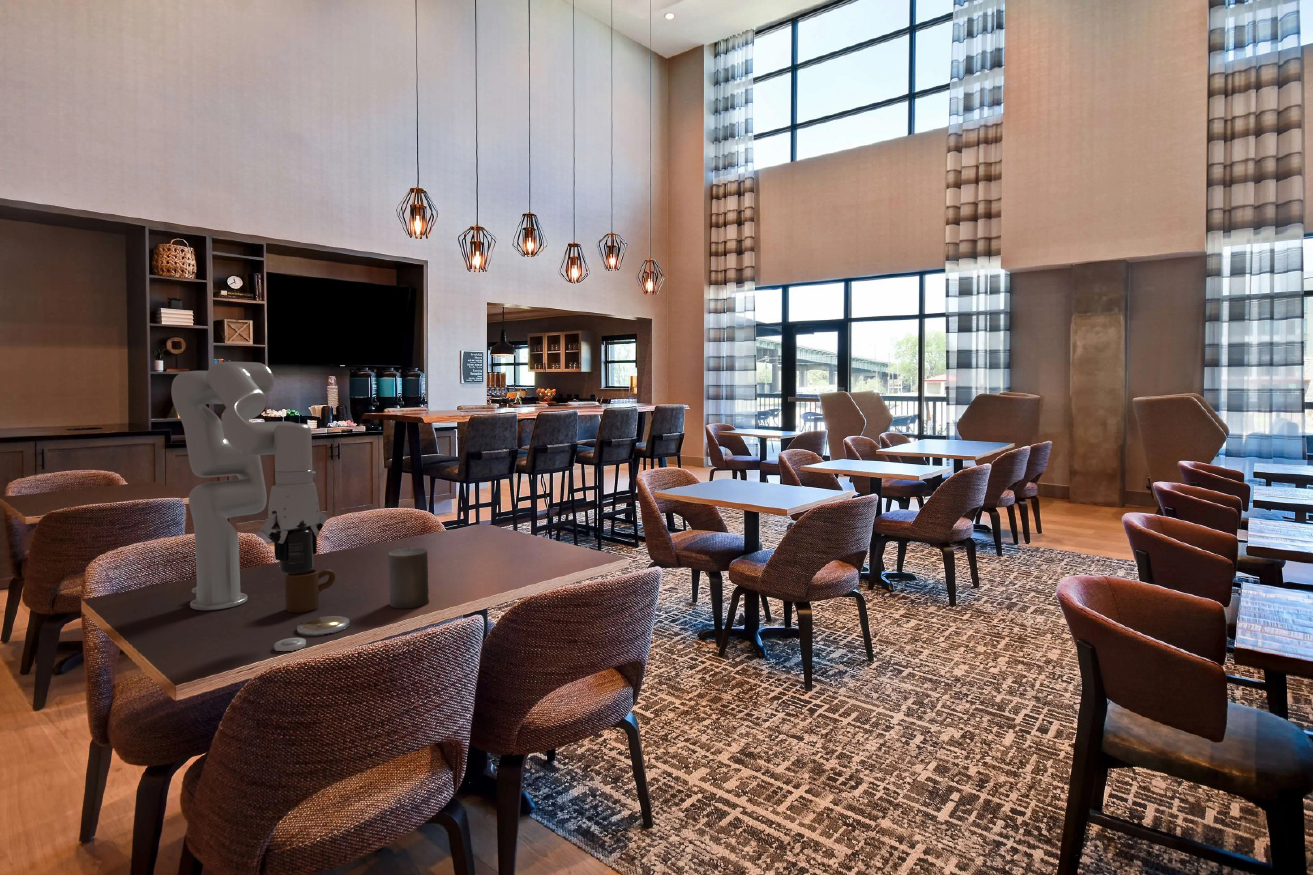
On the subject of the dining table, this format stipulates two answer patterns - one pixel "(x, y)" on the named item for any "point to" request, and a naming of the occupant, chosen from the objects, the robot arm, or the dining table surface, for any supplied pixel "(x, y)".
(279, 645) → the plastic flange
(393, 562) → the pillar candle
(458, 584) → the dining table surface
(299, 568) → the supplement bottle
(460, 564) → the dining table surface
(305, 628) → the silver and gold coaster
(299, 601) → the mug
